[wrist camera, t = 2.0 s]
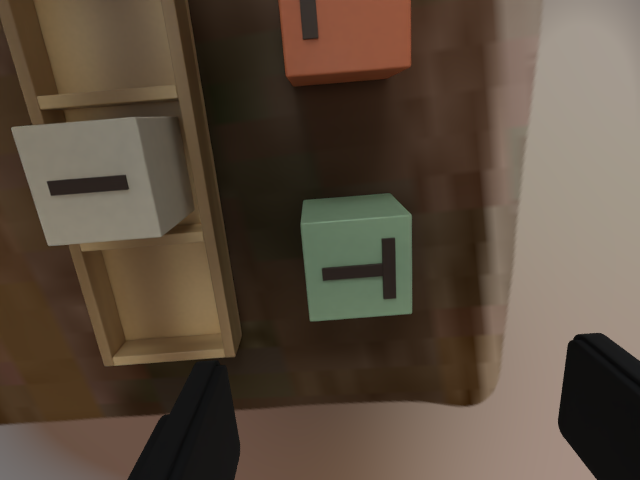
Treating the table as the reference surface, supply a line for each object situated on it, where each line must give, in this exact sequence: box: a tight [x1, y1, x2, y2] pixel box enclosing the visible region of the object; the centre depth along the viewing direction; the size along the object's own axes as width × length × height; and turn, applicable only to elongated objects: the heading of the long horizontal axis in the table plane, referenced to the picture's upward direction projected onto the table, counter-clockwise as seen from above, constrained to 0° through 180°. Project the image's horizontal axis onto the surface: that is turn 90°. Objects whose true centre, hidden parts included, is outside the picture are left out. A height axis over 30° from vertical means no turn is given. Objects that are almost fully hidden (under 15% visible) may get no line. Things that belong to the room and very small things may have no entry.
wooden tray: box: [0, 0, 242, 367], centre depth 20 cm, size 8×22×2 cm, turn 4°
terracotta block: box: [278, 0, 411, 86], centre depth 17 cm, size 5×5×5 cm
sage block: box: [300, 193, 412, 322], centre depth 20 cm, size 5×5×5 cm
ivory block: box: [11, 116, 195, 246], centre depth 18 cm, size 5×5×5 cm
